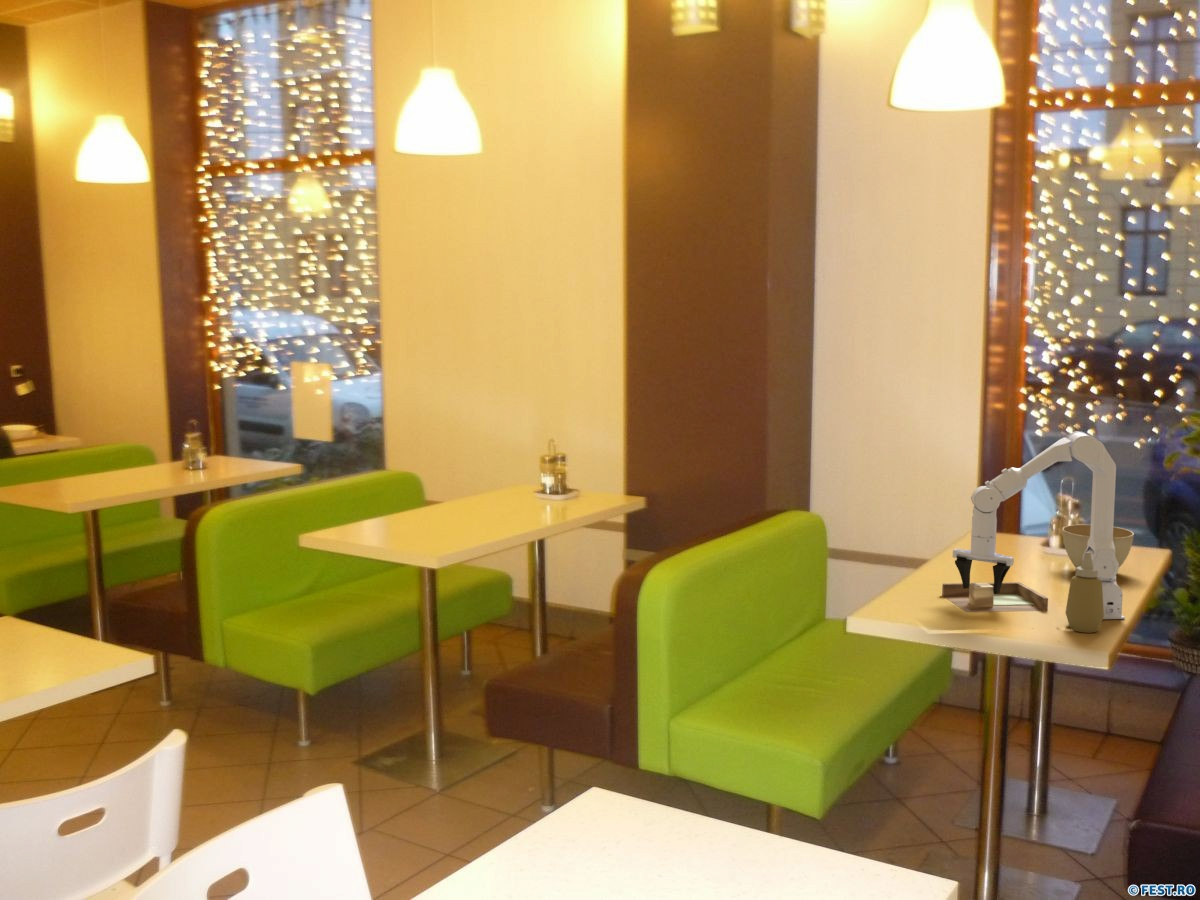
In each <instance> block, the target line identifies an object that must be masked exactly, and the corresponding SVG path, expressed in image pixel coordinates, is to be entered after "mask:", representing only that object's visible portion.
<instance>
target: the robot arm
mask: <svg viewBox="0 0 1200 900" xmlns="http://www.w3.org/2000/svg"><path fill="white" fill-rule="evenodd" d="M1073 458H1075V460H1077V461H1079V462H1081V463H1083V464H1084V465H1085V466H1086V467H1087V468H1088V469H1089V470H1091V471H1092V486H1091V507H1090V508H1091V509H1090V525H1091V528H1090V538H1089V540H1088V543H1087V549H1086V551H1085V552H1090V553H1091V557H1092V563H1093V567H1094V568H1097V569H1098V576H1097V577H1098V578H1099V579H1100V580H1101V581H1102V590H1103V608H1104V617H1103V620H1125V619H1126V616H1124V615H1123V614H1122V613H1123V596H1124V594H1123V590H1122V589H1121V587H1120V586H1119V585H1118V583H1117V574H1118V572H1119V570H1120V568H1119V564H1118V561H1117V559H1116V556H1115V546H1114V542H1113V527H1114V524H1115V523H1114V522H1115V521H1114V519H1115V503H1116V502H1115V501H1116V499H1115V498H1116V497H1115V496H1116V481H1117V480H1116V478H1117V465H1116V463H1115V462H1114V459H1113V458H1112V456H1111V455H1110V453H1109V452H1108V451H1107V449H1106V447H1105V445H1104V444H1103V443H1102V442H1101V441H1099V439H1097V438H1095V437H1094V436H1091V435H1089V434H1088V433H1086V432H1083V431H1073V432H1071V433H1069V434H1068V435H1067V436H1066V437H1065V436H1064V437H1062V438H1060V439H1058V440H1057V441H1056V442H1054V443H1052V444H1051V445H1050V446H1048V447H1047V448H1045V450H1043V451H1041V452H1040V453H1039V454H1037V455H1036V456H1034V457H1033V458H1032V459H1030V460H1029V461H1027V462H1026V463H1025V464H1023V465H1022V466H1020V467H1018V468H1017V467H1010V468H1008V469H1007V468H1004V469H1002V470H1001V474H999V475H997V476H996V477H995V478H993V479H991V480H990V481H989V480H987V481H985V482H984V484H985V485H981V486H978V487H976V488H975V490H973V493H972V494H971V496H970V500H971V503H972V505H973V509H972V517H971V536H970V537H971V538H970V549H961V548H954V549H952V558H953V559H954V558H955V559H956V560H954V564H955V566H956V568H957V569H958V570H957V571H958V572H959V575H960V578H961V583H963V588H965V589H966V588H968V587H969V585H970V583H971V570H972V563H973V561H978V562H983V563H990V564H991V563H992V564H994V565H992V572H993V583H994V587H993V592H994V594H997V593H999V592H1000V588H1001V585H1002V583H1004V579H1005V577H1006V575H1007V574H1008V571H1009V570H1010V568H1011V567H1012V566H1014V564H1015V563H1014V562H1015V561H1014V560H1015V559H1014V556H1010V555H1004V554H999V553H996V548H997V547H996V546H997V545H996V544H997V528H998V527H997V526H998V525H997V524H998V518H997V509H999V507H1000V505H1001V502H1005V501H1006V500H1007V499H1009V498H1011V497H1013V496H1014V495H1016V494H1017V493H1019V492H1020V491H1022V490H1023V489H1025V488H1026V487H1027V483H1028V480H1029V479H1031V478H1032V477H1034V476H1035V475H1037V474H1040V472H1042V471H1044V470H1046V469H1047V468H1049V467H1051V466H1053V465H1054V464H1056V463H1058V462H1073ZM1084 555H1085V553H1084ZM1084 555H1083V558H1084Z"/></svg>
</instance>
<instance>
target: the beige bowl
mask: <svg viewBox="0 0 1200 900" xmlns="http://www.w3.org/2000/svg"><path fill="white" fill-rule="evenodd" d="M1090 528H1091V524H1071V525H1066V526H1064V527H1062V541H1063V544H1064V548H1065V552H1066V554H1067V556H1068V559H1069V560H1070V561H1071V564H1072V565H1073V566H1074V568H1075V569H1076V568H1077V567H1079V566H1081V565H1082V561H1083V555H1084V553H1085V551H1086V549H1087V543H1088V540H1089V538H1090ZM1134 536H1135V533H1134V532H1133V531H1131V530H1129V529H1126V528H1123V527H1118V526H1117V527H1116V526H1113V542H1114V546H1115V556H1116V559H1117V561H1118V564H1119V569H1120V567H1121V566H1122V565H1123V564H1124V563H1125V561H1126V560H1127V557H1128V556H1129V554H1130V551H1131V548H1132V545H1133V541H1134Z"/></svg>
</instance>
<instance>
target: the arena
mask: <svg viewBox="0 0 1200 900" xmlns="http://www.w3.org/2000/svg"><path fill="white" fill-rule="evenodd" d="M987 583H988V584H990V585H992V586H993V587H994V582H987ZM941 589H942V590H941V591H942V592H941V595H942V597H943V598H945V599H947V600H948V601H949V602H951V603H953V604H954V605H956V606H957V607H958V608H959V609H961V610H963V612H965V613H989V612H993V613H995V612H997V613H998V612H1000V613H1001V612H1040V611H1041V612H1043V611H1048V607H1049V606H1048V605H1049V598H1048V597H1047V596H1045V595H1044V594H1042V593H1040V592H1038V591H1035V589H1032V588H1030V587H1029V586H1027V585H1025V584H1023V582H1017V581H1013V582H1012V581H1011V582H1010V581H1009V582H1005V581H1004V582H1002V585H1001V588H1000V592H999V593H997V594H994V599H993V607H974V606H972V605H971V604H969V587H968V588H966V589H965V588H963V583H962V582H960V583H959V582H958V583H956V582H955V583H942V588H941Z"/></svg>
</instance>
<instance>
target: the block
mask: <svg viewBox="0 0 1200 900" xmlns="http://www.w3.org/2000/svg"><path fill="white" fill-rule="evenodd" d="M988 583H989V582H970V585H969V604H971V605H972V606H974V607H993V599H994V592H993V586H992V585H990V584H988Z"/></svg>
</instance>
